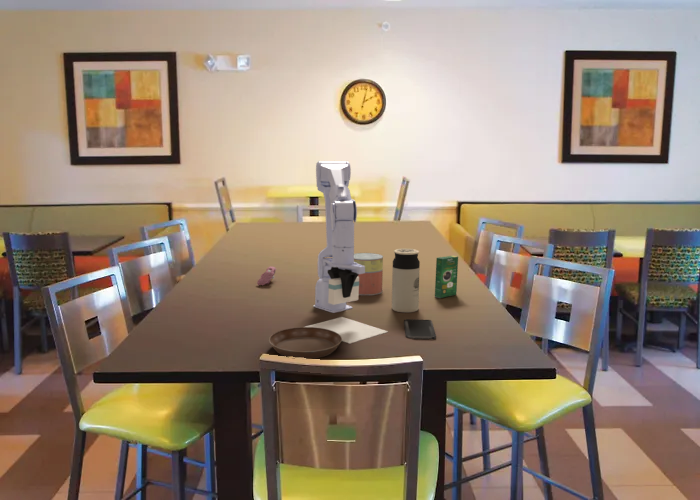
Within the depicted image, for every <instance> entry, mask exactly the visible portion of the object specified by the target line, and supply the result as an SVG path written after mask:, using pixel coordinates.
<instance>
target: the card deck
mask: <svg viewBox="0 0 700 500" xmlns="http://www.w3.org/2000/svg"><path fill="white" fill-rule="evenodd" d="M328 288H329V295H328V303H330V304H333V305H335V304H340V303H345V302H346V303H350V302H355V301H359V296H360V295H359V277H357V278H356V280H355V282H354V285H353V288H352V291H351V295H350V297H347V298H344V297H343V294H342V283H341V279H340V278H335V279H329V286H328Z"/></svg>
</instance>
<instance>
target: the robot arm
mask: <svg viewBox="0 0 700 500" xmlns="http://www.w3.org/2000/svg"><path fill="white" fill-rule="evenodd" d="M315 164H316V165H315V178H316V187H317V191H319V192H320V193H322V194H323V198H324V205H325V206H324V207H325V210H324V211H325V231H326V232H325V233H326V234H325V237H326V238H325V239H326V247H324V248H323V249H322V250H321V251H320V252H319V253H318V255H317V277H318V278H319V279H317V281H316V284H315V286H314V287H315V293H314V294H315V296H314V297H315V299H314V300H315V301H314V302H315V304H313V306H312V307H313V308H316V309H319V310H322V311H326V312H329V313H332V314H335V313H340V312H343V311H348V310H353V306H351V305H348V304H347V302H345V303H340V304H335V305H333V304H330V303H328V295H329V288H328V286H329V279H335V278H340V279H341V283H342V294H343V297H344V298H347V297H350V295H351V291H352V288H353V285H354V282H355V280H356V278H357V276H358V275H359V274H363V273H365V266H363V265H360V264H358V263H356V262H354V254H355V223H356V221H357V218H358V217H357V215H358V211H357V210H358V209H357V204H356V200H355V199H354V198H352V196H351V195H352V194H351V191H350V189H349V186H350V185H349V184H350V180H351V173H352V172H351V171H352V169H351V168H352V167H351V163H350V162H349V160H346V161H321V160H318V161H317V162H316V163H315Z"/></svg>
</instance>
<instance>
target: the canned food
mask: <svg viewBox="0 0 700 500" xmlns="http://www.w3.org/2000/svg"><path fill="white" fill-rule="evenodd" d="M354 262H356V263H358V264H360V265H363V266H365V273H363V274H359V275H358V276H357V277H359V296H376V295H380V294H382V293H383V272H384V270H383V269H384V267H383V266H384V256H383V255H382V254H380V253H374V252H373V253H372V252H357V253H354Z"/></svg>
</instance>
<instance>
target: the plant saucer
mask: <svg viewBox="0 0 700 500" xmlns="http://www.w3.org/2000/svg"><path fill="white" fill-rule="evenodd" d="M268 342H269V343H270V346H271V347H272V348H273V349H274V350H275V352H276V353H277V354H279V355H281V356H283V355H285V356H293V357H304V358H314V359H319V358H323V357H326V356H329V355H332V353H334V351H336V350H337V348H338V347H339V346H340V344H341V342H343V341H342V338H341V336H340V335H339V334H338V333H336V332H334V331H331V330H328V329H323V328H316V327H305V326H302V327H301V326H300V327H290V328H285V329H282V330H279V331H276V332H275V333H273V334H271V335H270V336H269V338H268ZM285 356H284V357H285Z"/></svg>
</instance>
